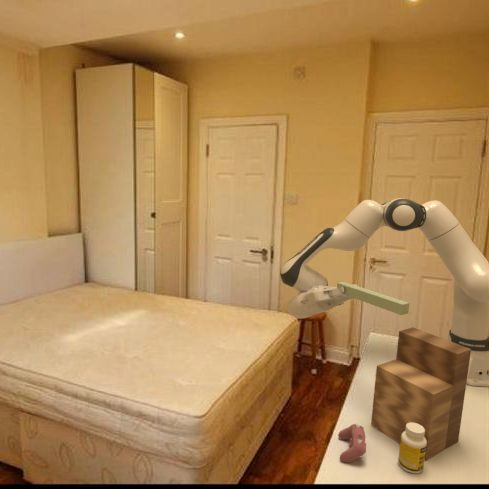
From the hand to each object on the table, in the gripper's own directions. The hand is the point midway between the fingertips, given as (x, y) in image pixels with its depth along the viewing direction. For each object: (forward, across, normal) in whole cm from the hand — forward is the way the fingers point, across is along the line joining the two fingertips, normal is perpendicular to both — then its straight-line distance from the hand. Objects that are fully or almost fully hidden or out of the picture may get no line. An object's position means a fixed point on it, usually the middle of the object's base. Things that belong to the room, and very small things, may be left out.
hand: (349, 288), depth 125 cm
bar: (+6, 0, +6) cm, 8 cm away
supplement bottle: (+16, -15, +45) cm, 50 cm away
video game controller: (+7, -24, +40) cm, 47 cm away
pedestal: (+10, -4, +41) cm, 43 cm away
